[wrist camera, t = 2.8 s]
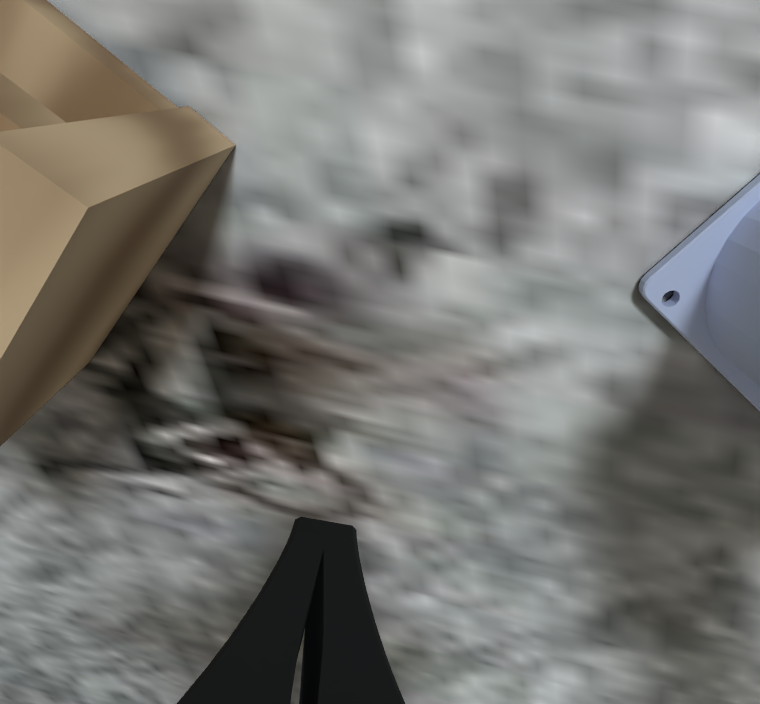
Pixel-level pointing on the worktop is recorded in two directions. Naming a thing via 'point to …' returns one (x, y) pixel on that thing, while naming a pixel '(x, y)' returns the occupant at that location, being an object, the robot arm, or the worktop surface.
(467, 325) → the worktop surface
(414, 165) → the worktop surface
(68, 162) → the tan notched block
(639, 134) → the worktop surface
